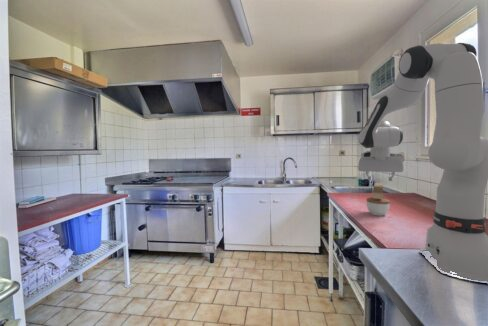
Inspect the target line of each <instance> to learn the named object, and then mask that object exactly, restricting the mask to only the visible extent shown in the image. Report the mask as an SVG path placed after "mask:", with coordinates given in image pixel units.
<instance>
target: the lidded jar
mask: <svg viewBox="0 0 488 326" xmlns="http://www.w3.org/2000/svg"><path fill="white" fill-rule="evenodd" d="M390 204H391V200H389V199H387V198H384V197H383V199H377V198H373V196H372V197H371V196H370V197H367V198H366V207H367V210H368V212H369V213H370V214H371V215H373V216H379V217H382V216H385V215H386V214H388V212H389V210H390V207H391V206H390Z"/></svg>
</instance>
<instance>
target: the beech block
mask: <svg viewBox="0 0 488 326" xmlns="http://www.w3.org/2000/svg"><path fill="white" fill-rule="evenodd" d="M383 196H384V183H381V182H380V183H379V182H374V184H373V196H372V197H373V198H377V199H383V198H384V197H383Z"/></svg>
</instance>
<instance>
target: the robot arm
mask: <svg viewBox="0 0 488 326" xmlns="http://www.w3.org/2000/svg"><path fill="white" fill-rule="evenodd" d="M477 55H478V53H477V49H476V47H475V46H474V45H473V44H470V43H466V42H456V43H454V42H453V43H451V42H450V43H442V42H438V43H430V44H424V45H420V44H419V45H416V46H411V47H409V48H407V49H405V50H404V52H403V53H402V55H401V56H400V58H399V61H398V71H399V72H398V74H397V75H396V78H395V80H394V82H393V83H394V84H393V86H392V87H391V89H390V90H389V91H388V92H387V93H386V94H385V95H383V96H381V97H380V98H379V99H378V101H377V103H376V105H375V106H374V108H373V110H372V111H371V113H370V115H369V117H368V119H367V121H366V123H365V125H364V126H363V128H362V129H361V130H360V132H359V134H358V142H359V144H360V145H361V146H362V147H363V148H365V149H370V150H367V151H364V152H362V153H360V156H361V157H360V159H359V161H358V166H357V168H358V171H359V172H365V176H366V177H367V181H371V180H372V176H370V175H369V172H372V173H373V172H374V173H375V172H376V173H377V172H378V173H379V172H380V173H391V176H388V182H392V181H393V178H394V176H395V175H396V173H403V172H404V162H405V156H404V155H403V154H401V153H391V148H392V147H393V148H394V147H397V146H399V145H400V144H401V143H403V140H404V133H403V131H402V129H401V128H400V127H397V126H394V125H392V124H391V123H390V122H389V121H386V120H384V117H386V116H387V115H388V114H390V113H393V112H395V111H398V110H402V109H405V108H409V107H411V106H413V105H414V104H417V103H418V101H420V99H421V98H422V96H423V95H424V93H425V90H426V88H427V86H428V83H429V81H430V79H431V80H432V79H433V81H434V97H435V114H436V115H435V116H436V117H435V126H434V131H433V137H432V142H431V144H430V146H429V148H428V153H427V155H428V158H429V160H430V162H431V163H432V165H434V166H435V167H438V168H439V169H442V170H443V173H442V175H441V178H440V181H439V183H438V185H437V188H436V202H435V211H434V212H433V216H432V218H433V224H432V225H431V226H430V227H428V228H427V230H426V237H425V238H426V239H425V247H422V248H419V250H420V251H422V252H423V251H429V252H430V253H431V255H432V256H430V258H431V257H433V258H434V259H436V260H437V266H438V268H439V269H440V268H441V269H440V270H442V271H444V272H447V273H450V271H452V272H455V273H457V274H453V275H457V276H460V277H463V278H467V279H471V280H478V281H487V282H488V235H487V233H485V232H486V230H487V229H486V220H485V218H484V210H485V209H484V206H485V195H486V188H487V184H488V139H487V138H486V137H484V136H481V128H482V121H483V118H484V114H485V99H484V98H485V97H484V83H483V77H482V71H481V68H480V67H481V66H480V64H479V61H478V58H477ZM450 274H452V273H450Z"/></svg>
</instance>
